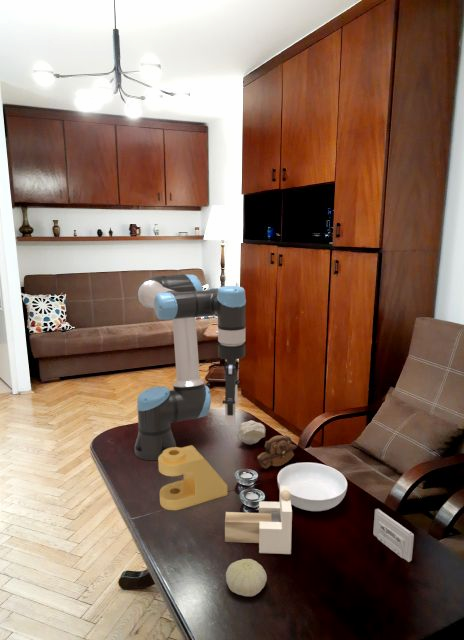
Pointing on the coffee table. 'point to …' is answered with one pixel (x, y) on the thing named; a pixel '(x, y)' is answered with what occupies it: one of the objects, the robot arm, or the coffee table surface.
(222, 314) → the robot arm
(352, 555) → the coffee table surface
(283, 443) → the wooden carving
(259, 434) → the white rock
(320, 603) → the coffee table surface
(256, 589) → the sea urchin shell
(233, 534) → the rail
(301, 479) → the serving bowl
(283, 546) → the white notched block
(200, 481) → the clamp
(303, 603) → the coffee table surface
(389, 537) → the cassette
